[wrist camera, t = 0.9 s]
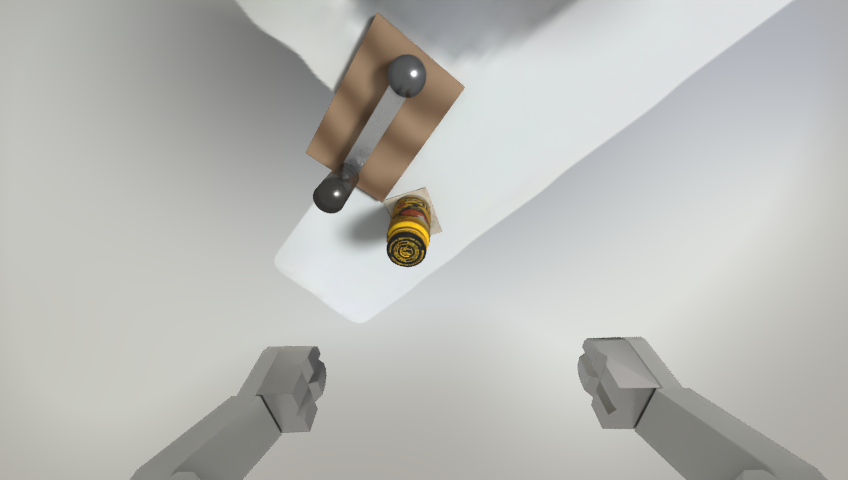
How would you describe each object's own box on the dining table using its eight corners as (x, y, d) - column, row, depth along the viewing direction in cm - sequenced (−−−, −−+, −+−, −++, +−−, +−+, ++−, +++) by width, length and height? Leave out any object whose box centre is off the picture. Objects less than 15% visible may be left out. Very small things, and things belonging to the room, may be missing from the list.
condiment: (425, 186, 47) (422, 224, 37) (442, 231, 51) (442, 275, 41) (383, 200, 49) (368, 239, 39) (402, 242, 53) (393, 287, 43)
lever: (404, 45, 36) (392, 43, 27) (433, 70, 37) (432, 76, 28) (331, 170, 44) (304, 200, 35) (357, 187, 45) (338, 220, 37)
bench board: (379, 13, 36) (377, 12, 34) (464, 86, 39) (464, 87, 38) (309, 150, 45) (305, 152, 43) (383, 198, 48) (382, 202, 47)
